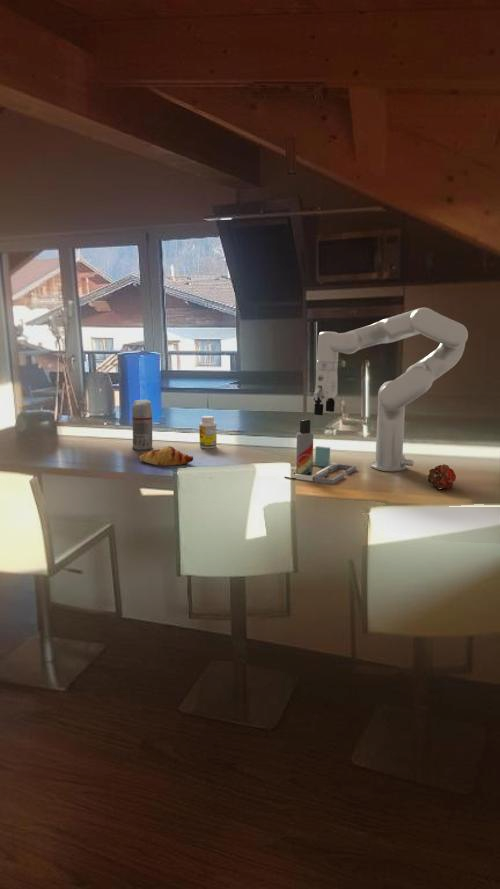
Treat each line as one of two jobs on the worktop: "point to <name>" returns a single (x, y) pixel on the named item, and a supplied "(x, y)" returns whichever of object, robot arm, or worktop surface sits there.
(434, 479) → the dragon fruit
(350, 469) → the grey open frame
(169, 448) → the croissant
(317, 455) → the lane sled
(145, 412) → the spray can
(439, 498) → the worktop surface
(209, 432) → the supplement bottle
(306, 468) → the lotion bottle
